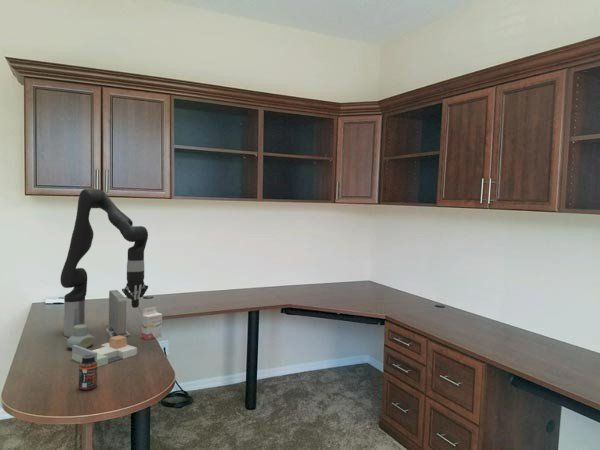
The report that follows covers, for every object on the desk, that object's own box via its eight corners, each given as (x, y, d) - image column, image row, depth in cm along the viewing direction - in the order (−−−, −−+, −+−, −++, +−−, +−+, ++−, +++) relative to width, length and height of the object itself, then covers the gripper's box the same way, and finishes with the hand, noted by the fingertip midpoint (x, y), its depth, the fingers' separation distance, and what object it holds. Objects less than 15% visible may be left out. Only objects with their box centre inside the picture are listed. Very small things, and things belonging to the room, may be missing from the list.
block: (109, 346, 187) (109, 337, 187) (119, 343, 191) (119, 335, 191) (116, 349, 184) (116, 340, 184) (126, 346, 188) (126, 337, 188)
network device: (104, 327, 226) (104, 290, 226) (121, 325, 231) (122, 289, 231) (112, 340, 205) (113, 299, 204) (131, 337, 210) (132, 297, 209)
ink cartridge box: (146, 340, 206) (147, 310, 206) (141, 338, 210) (141, 308, 209) (162, 336, 213) (162, 307, 213) (156, 334, 216) (157, 306, 216)
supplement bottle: (87, 392, 148) (87, 360, 148) (74, 388, 151) (74, 357, 150) (100, 385, 154) (101, 354, 154) (88, 382, 156) (88, 352, 156)
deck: (72, 359, 179) (72, 345, 178) (115, 347, 196) (115, 334, 195) (94, 368, 170) (94, 353, 170) (137, 354, 187) (137, 341, 187)
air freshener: (75, 352, 187) (76, 330, 187) (63, 349, 191) (63, 327, 190) (97, 345, 197) (97, 324, 197) (84, 342, 201) (85, 321, 200)
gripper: (142, 267, 201) (142, 303, 202) (117, 270, 190) (117, 308, 191) (153, 269, 197) (152, 306, 198) (128, 272, 186) (127, 311, 187)
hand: (135, 307), depth 194 cm, fingers closed
